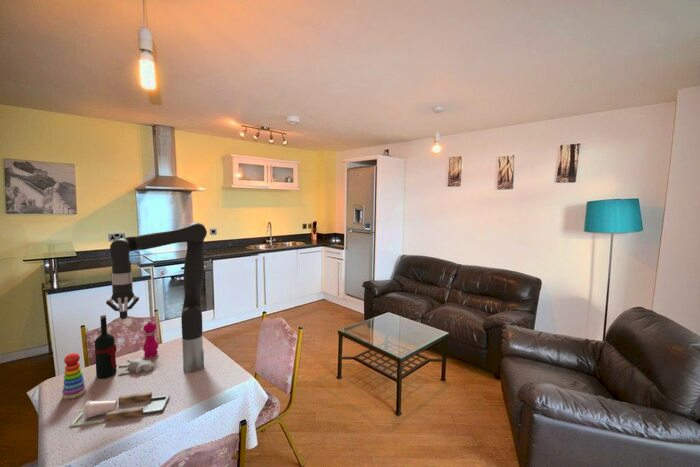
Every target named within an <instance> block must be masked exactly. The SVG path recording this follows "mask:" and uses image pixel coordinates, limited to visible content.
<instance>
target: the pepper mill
mask: <svg viewBox="0 0 700 467" xmlns="http://www.w3.org/2000/svg"><path fill="white" fill-rule="evenodd" d="M156 329H157V324H156V323H155V322H152V320H151V319H149V320H147V323H145V324H144V325H143V331H144V336H145V341H144V344H143V346H142V350H143V352H144V354H143V355H144V358H153V357H155V356H157V355H158V353H159V352H158V349H159V343H158V341H157V340H156V338H155V337H156V336H155V335H156Z"/></svg>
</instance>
